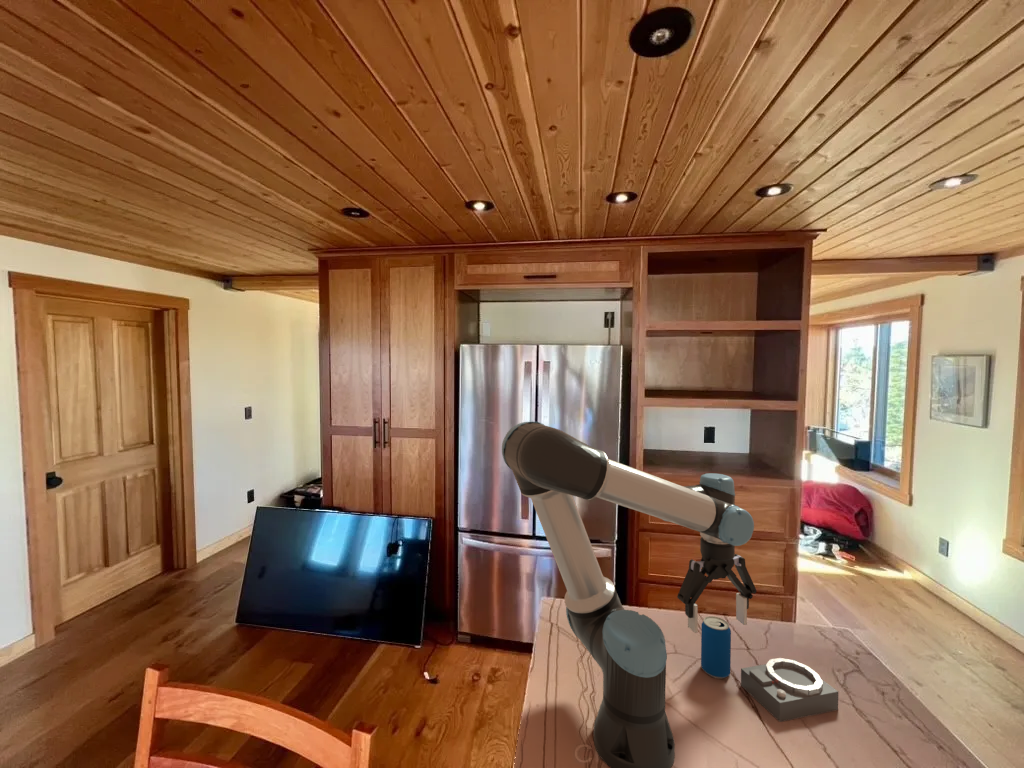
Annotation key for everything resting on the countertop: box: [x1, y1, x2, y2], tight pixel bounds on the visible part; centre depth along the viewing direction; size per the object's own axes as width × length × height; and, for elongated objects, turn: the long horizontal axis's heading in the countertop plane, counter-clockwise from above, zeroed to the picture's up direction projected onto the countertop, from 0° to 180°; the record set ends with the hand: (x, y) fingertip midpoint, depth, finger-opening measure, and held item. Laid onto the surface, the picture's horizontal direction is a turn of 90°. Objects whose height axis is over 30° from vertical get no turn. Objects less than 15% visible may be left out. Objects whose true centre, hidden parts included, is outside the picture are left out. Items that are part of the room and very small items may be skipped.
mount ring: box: [765, 657, 823, 696], centre depth 98 cm, size 10×10×1 cm
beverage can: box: [700, 615, 732, 680], centre depth 106 cm, size 6×6×12 cm
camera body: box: [740, 659, 839, 723], centre depth 98 cm, size 15×11×5 cm
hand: (717, 625), depth 106 cm, fingers open, 13 cm apart
